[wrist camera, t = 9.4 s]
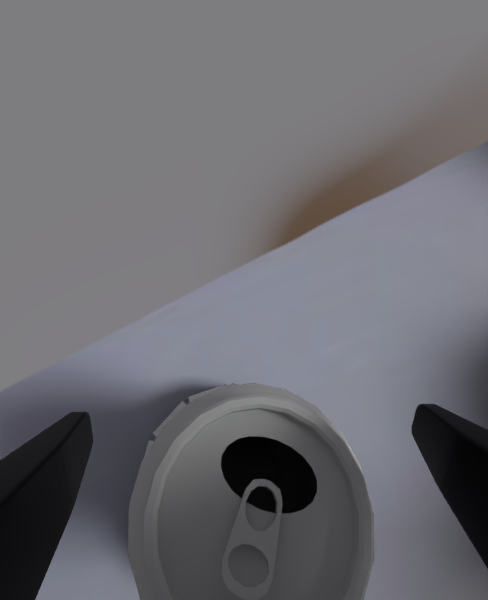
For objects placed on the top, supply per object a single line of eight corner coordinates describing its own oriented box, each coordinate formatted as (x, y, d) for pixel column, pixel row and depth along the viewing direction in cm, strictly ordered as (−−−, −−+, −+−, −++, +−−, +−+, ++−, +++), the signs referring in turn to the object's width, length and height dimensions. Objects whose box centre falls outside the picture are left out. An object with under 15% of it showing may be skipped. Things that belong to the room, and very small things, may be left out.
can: (307, 440, 20) (415, 421, 10) (274, 585, 17) (384, 800, 6) (197, 399, 21) (185, 338, 10) (144, 532, 18) (43, 650, 7)
